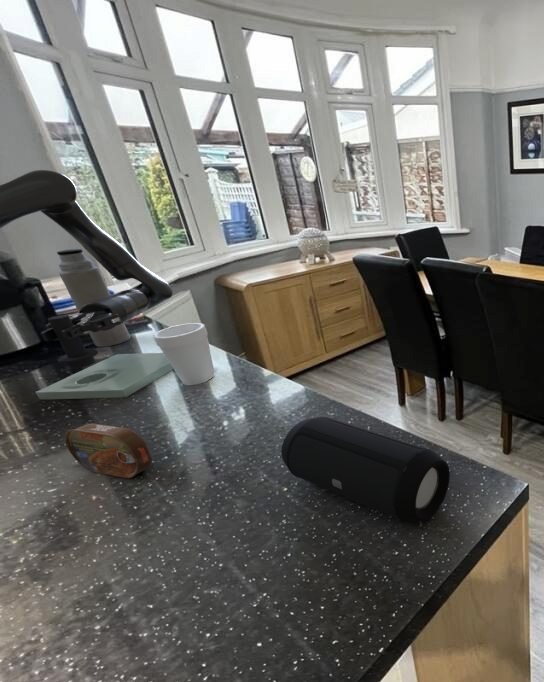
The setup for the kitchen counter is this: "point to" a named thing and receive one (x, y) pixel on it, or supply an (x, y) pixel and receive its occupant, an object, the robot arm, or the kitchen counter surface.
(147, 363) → the plate
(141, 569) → the kitchen counter surface
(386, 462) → the portable speaker
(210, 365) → the foam cup
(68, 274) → the thermos bottle
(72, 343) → the stopper
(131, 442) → the tin
